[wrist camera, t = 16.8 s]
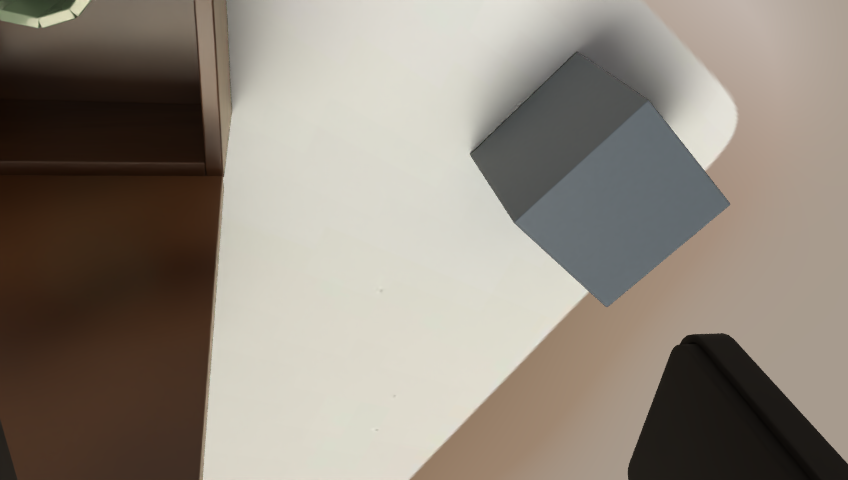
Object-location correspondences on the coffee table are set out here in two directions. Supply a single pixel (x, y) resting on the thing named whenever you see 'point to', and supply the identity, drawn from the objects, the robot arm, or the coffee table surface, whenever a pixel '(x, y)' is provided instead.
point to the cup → (42, 11)
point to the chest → (118, 91)
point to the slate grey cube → (597, 178)
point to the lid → (107, 324)
